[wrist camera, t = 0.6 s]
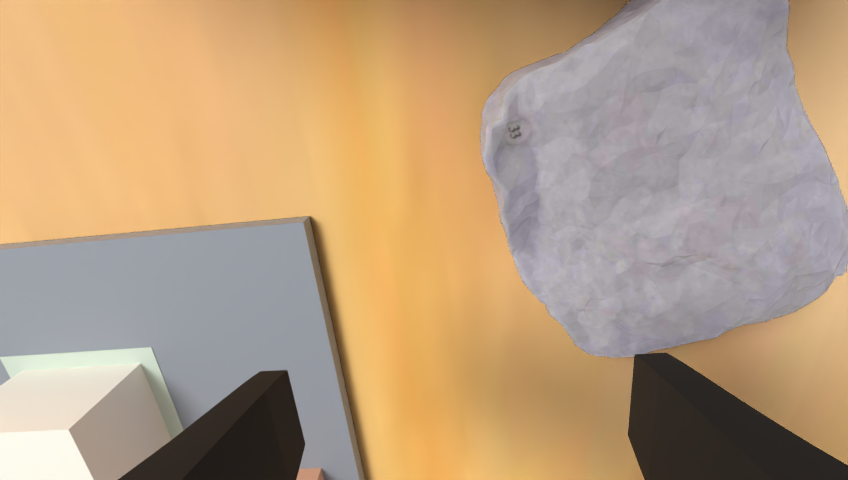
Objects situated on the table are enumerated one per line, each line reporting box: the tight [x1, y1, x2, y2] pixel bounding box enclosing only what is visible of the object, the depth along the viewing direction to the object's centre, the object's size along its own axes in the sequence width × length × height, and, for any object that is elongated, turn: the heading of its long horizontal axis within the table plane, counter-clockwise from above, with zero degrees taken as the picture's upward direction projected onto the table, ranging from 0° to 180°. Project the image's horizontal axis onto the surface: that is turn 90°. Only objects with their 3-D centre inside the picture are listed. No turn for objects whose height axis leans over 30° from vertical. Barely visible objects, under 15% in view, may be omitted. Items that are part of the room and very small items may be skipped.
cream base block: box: [0, 363, 171, 480], centre depth 19 cm, size 6×6×4 cm
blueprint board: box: [0, 216, 365, 480], centre depth 22 cm, size 24×20×1 cm
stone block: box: [480, 0, 848, 357], centre depth 15 cm, size 12×5×10 cm
